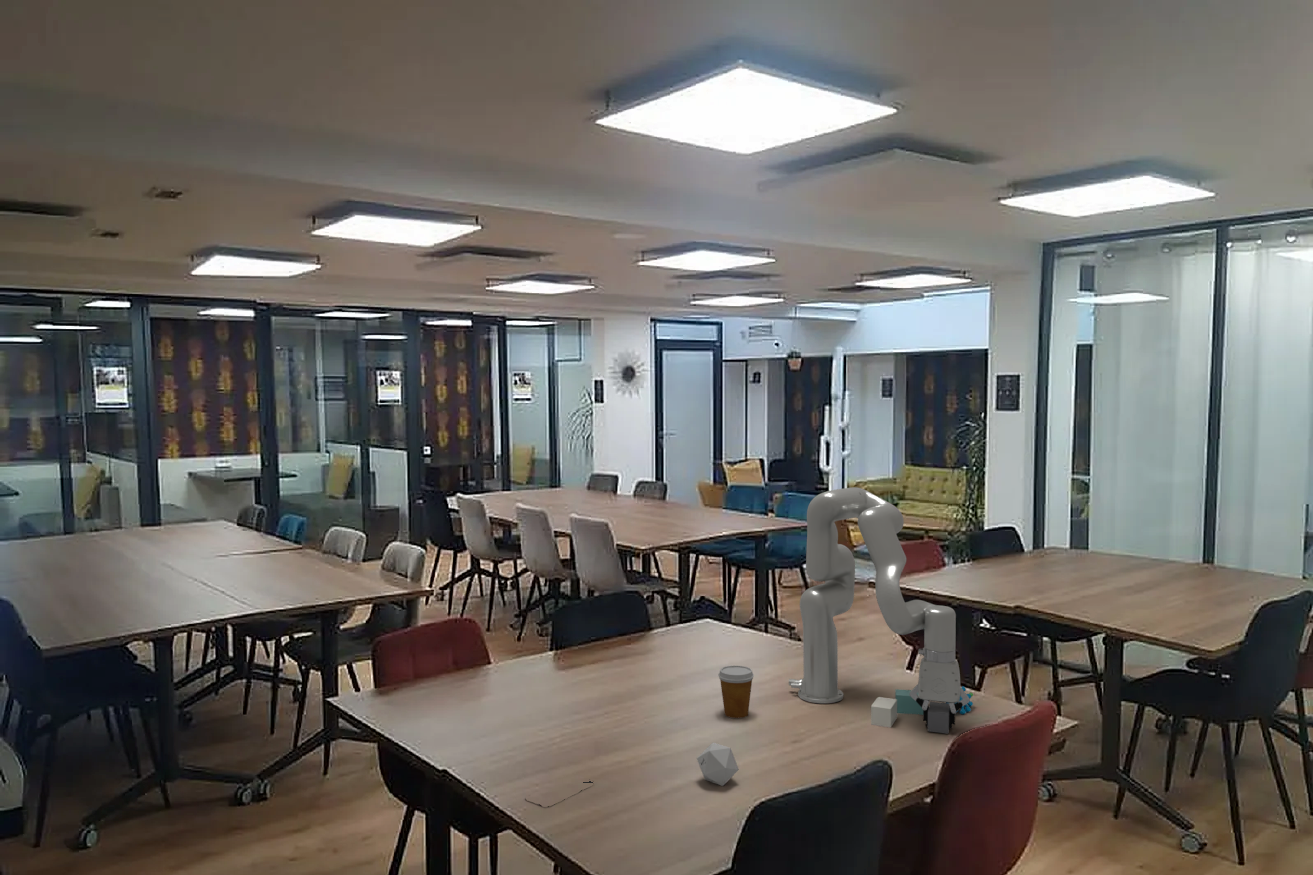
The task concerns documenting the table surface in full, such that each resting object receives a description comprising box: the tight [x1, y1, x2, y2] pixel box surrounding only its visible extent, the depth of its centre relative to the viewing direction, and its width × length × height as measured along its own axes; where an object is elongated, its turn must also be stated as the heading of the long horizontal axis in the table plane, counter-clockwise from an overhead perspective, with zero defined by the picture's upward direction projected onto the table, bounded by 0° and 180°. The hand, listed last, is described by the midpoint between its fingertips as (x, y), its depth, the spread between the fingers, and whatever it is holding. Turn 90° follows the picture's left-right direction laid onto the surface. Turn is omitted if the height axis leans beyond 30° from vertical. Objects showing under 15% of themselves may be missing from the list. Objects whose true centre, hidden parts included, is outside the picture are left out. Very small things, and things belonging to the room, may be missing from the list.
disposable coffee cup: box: [717, 665, 755, 719], centre depth 242 cm, size 10×10×12 cm
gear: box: [948, 685, 974, 715], centre depth 245 cm, size 11×6×10 cm
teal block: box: [894, 688, 923, 716], centre depth 243 cm, size 8×5×5 cm, turn 77°
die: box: [696, 742, 740, 787], centre depth 201 cm, size 8×9×10 cm
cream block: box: [870, 696, 898, 728], centre depth 236 cm, size 8×5×5 cm, turn 154°
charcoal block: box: [927, 701, 950, 735], centre depth 231 cm, size 8×5×5 cm, turn 159°
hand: (939, 724), depth 231 cm, fingers closed on charcoal block, 5 cm apart
